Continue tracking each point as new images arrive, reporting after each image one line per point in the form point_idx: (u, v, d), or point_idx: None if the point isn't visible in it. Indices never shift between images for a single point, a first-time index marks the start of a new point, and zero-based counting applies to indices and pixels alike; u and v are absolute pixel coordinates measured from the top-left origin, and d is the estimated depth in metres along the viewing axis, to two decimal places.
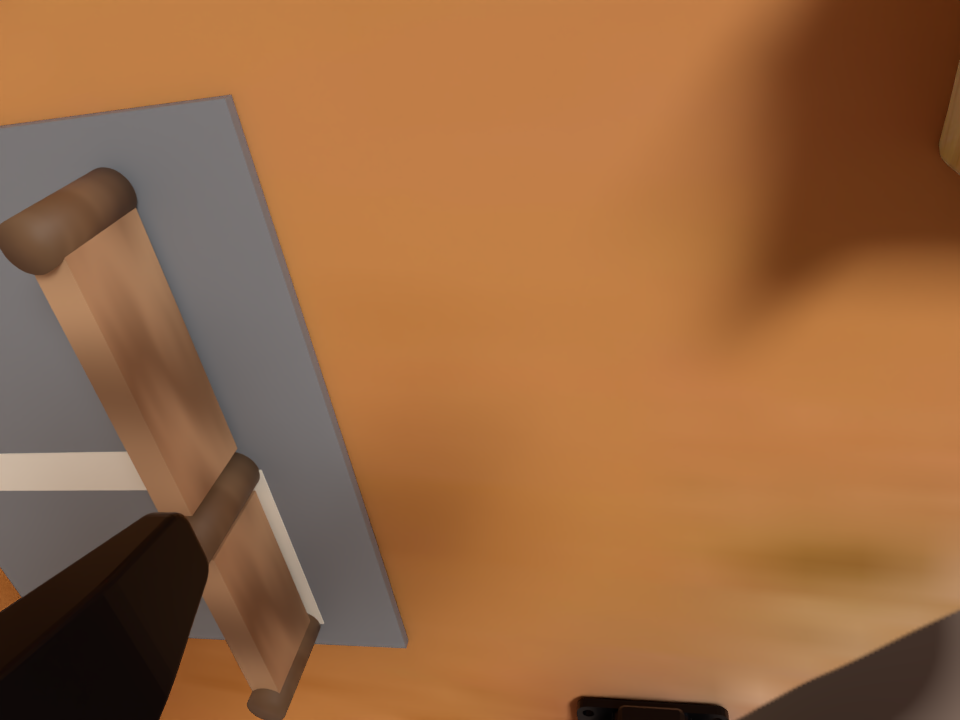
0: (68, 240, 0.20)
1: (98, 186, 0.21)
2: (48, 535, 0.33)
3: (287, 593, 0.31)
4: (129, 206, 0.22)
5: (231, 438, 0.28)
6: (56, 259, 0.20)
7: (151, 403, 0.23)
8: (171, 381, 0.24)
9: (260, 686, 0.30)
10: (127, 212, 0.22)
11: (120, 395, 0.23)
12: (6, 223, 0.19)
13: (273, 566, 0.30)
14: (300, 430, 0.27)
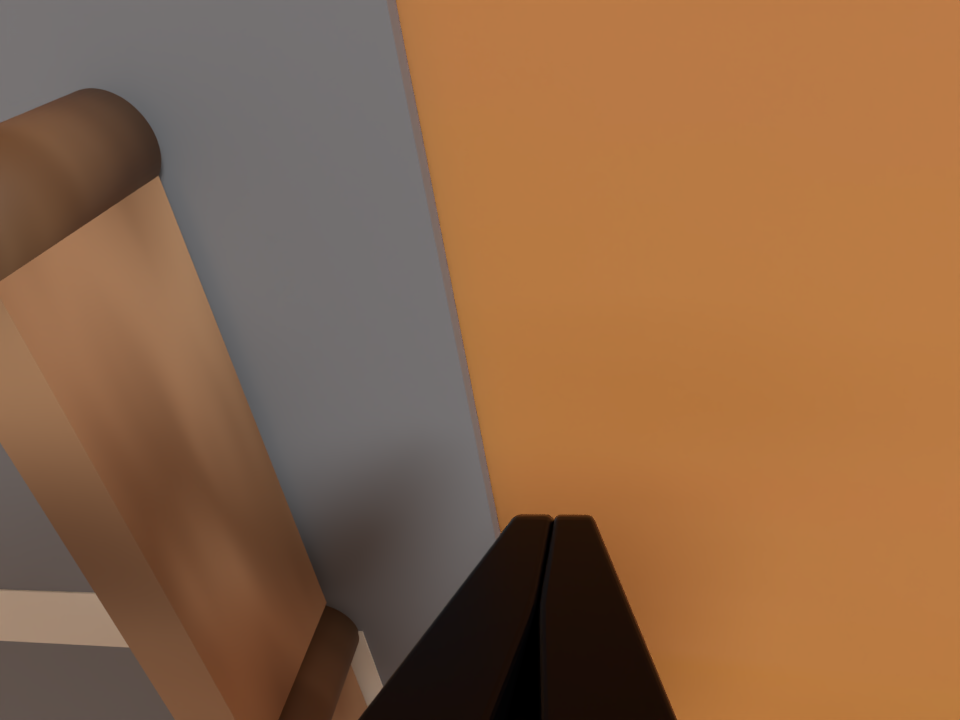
0: (1, 244, 0.08)
1: (79, 123, 0.10)
2: (10, 698, 0.21)
3: None
4: (145, 171, 0.11)
5: (317, 588, 0.16)
6: None
7: (188, 573, 0.11)
8: (225, 516, 0.12)
9: None
10: (141, 184, 0.11)
11: (126, 568, 0.11)
12: None
13: None
14: (441, 577, 0.15)
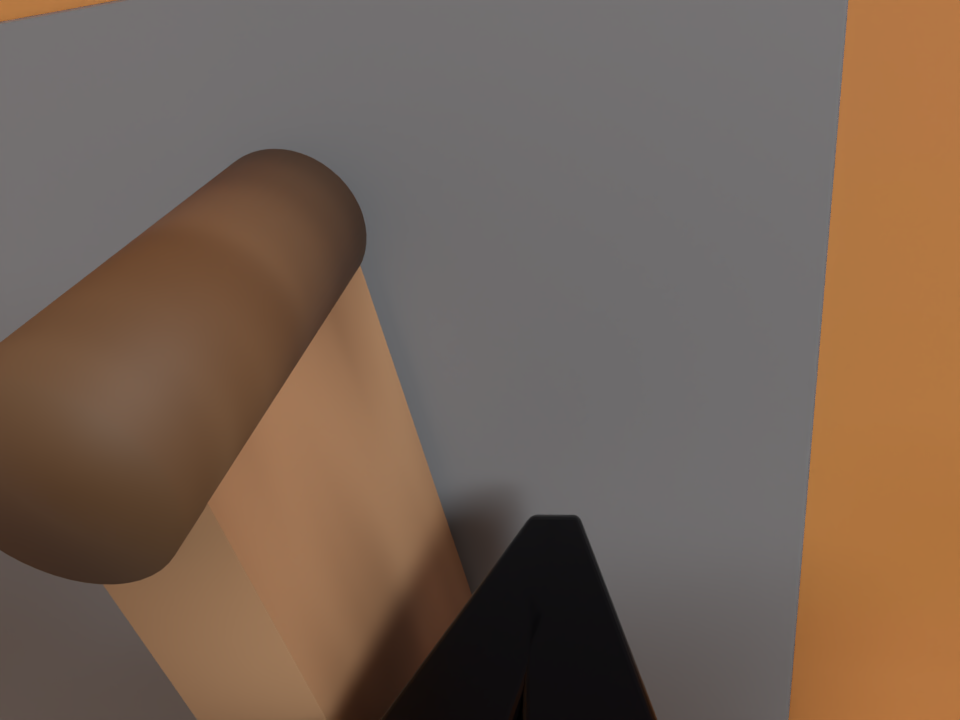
0: (221, 434, 0.05)
1: (279, 206, 0.06)
2: None
3: None
4: (354, 264, 0.07)
5: None
6: (183, 531, 0.04)
7: None
8: None
9: None
10: (349, 283, 0.07)
11: None
12: None
13: None
14: None
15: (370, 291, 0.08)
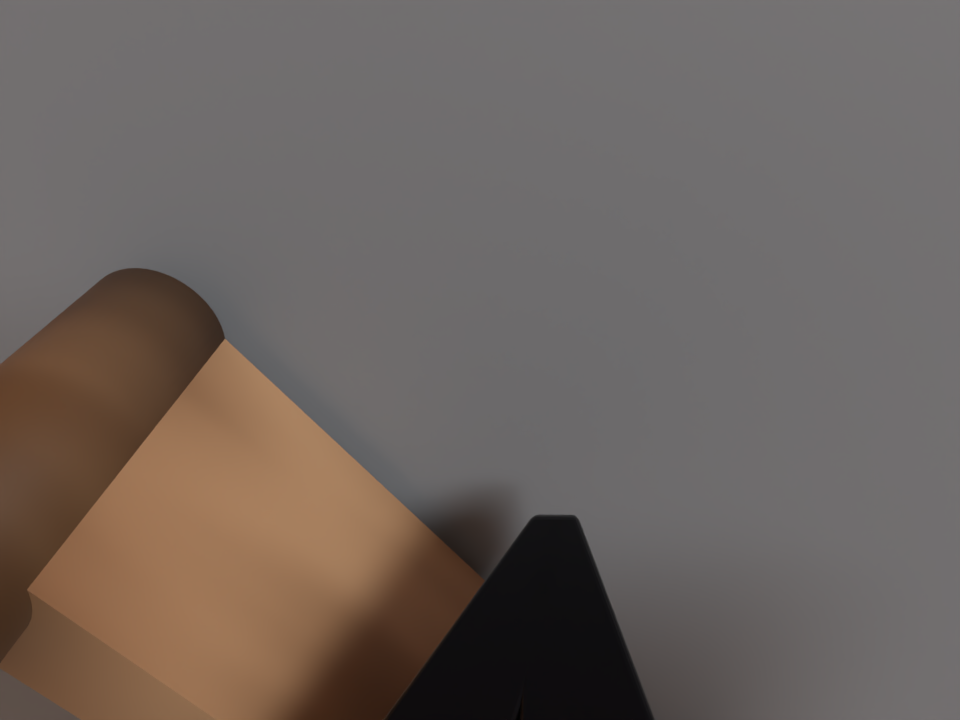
0: (10, 530, 0.05)
1: (88, 322, 0.07)
2: None
3: None
4: (203, 341, 0.08)
5: None
6: None
7: None
8: None
9: None
10: (203, 359, 0.08)
11: None
12: None
13: None
14: None
15: (655, 228, 0.07)
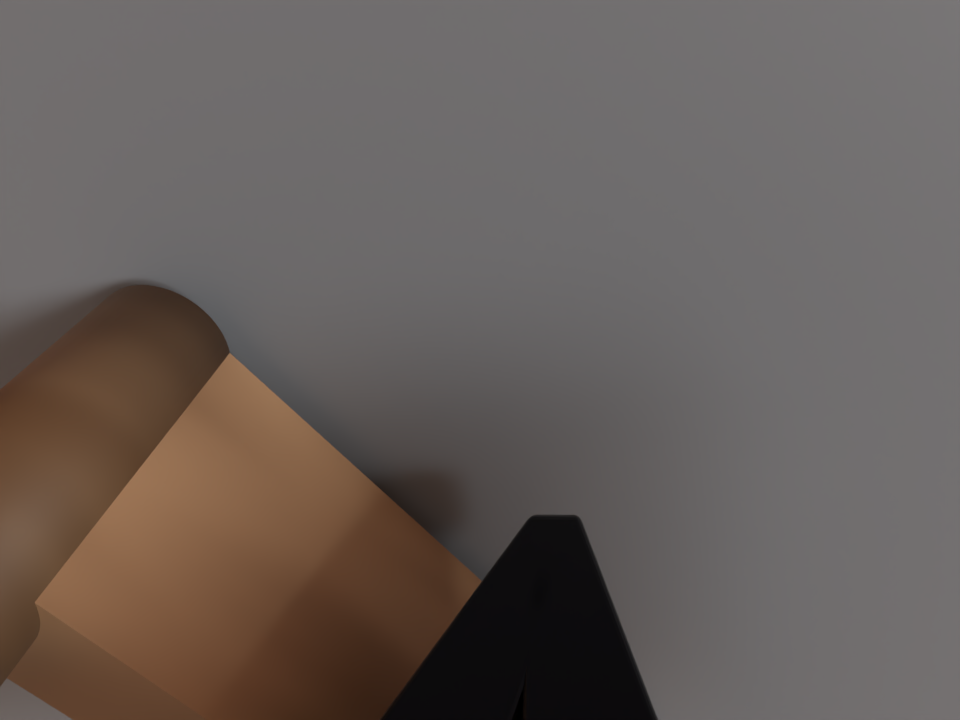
0: (18, 544, 0.06)
1: (94, 338, 0.07)
2: None
3: None
4: (207, 356, 0.08)
5: None
6: None
7: None
8: None
9: None
10: (209, 372, 0.08)
11: None
12: None
13: None
14: None
15: None
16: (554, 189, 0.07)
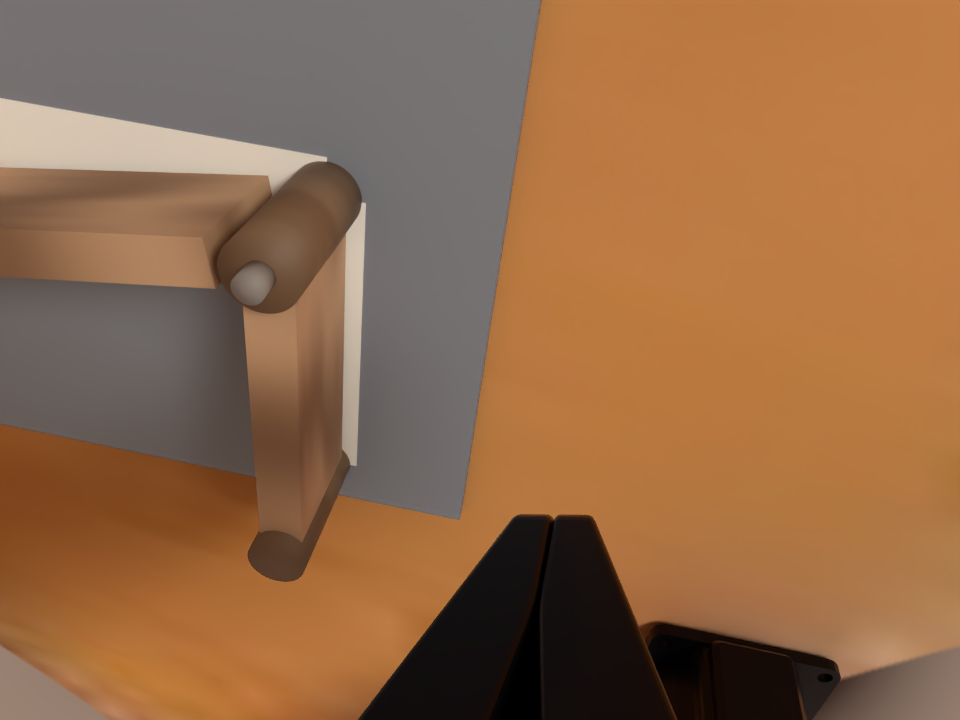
0: None
1: None
2: None
3: (335, 406, 0.21)
4: None
5: (244, 176, 0.18)
6: None
7: (33, 218, 0.17)
8: (68, 196, 0.18)
9: (277, 526, 0.20)
10: None
11: None
12: None
13: (334, 359, 0.20)
14: (460, 146, 0.17)
15: None
16: None
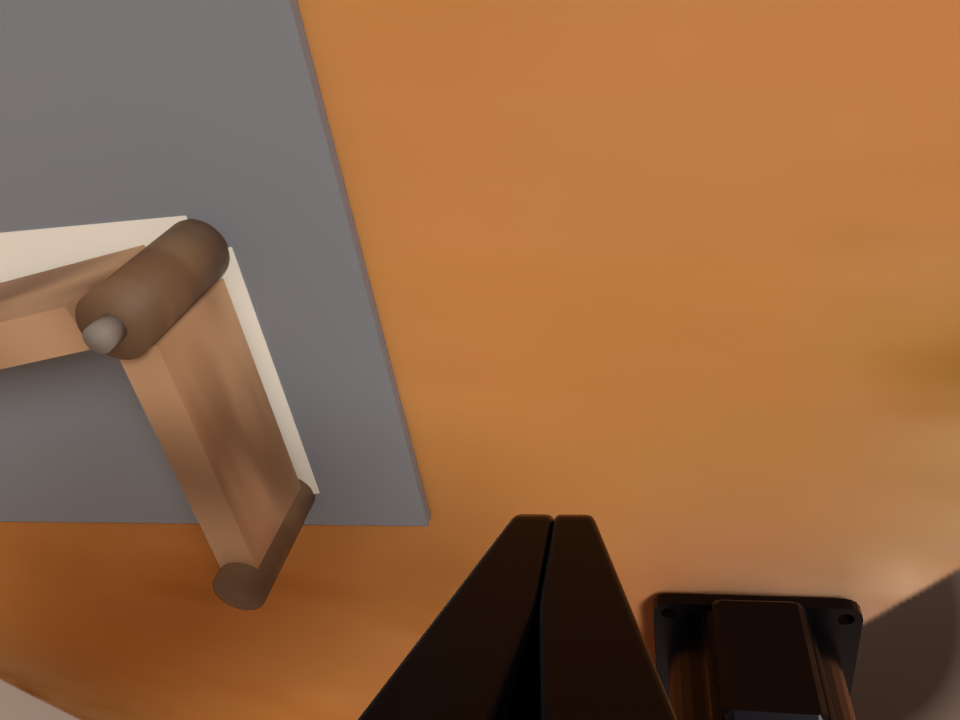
0: None
1: None
2: None
3: (269, 438, 0.23)
4: None
5: (125, 250, 0.21)
6: None
7: None
8: None
9: (231, 558, 0.22)
10: None
11: None
12: None
13: (249, 394, 0.22)
14: (285, 173, 0.19)
15: None
16: None
